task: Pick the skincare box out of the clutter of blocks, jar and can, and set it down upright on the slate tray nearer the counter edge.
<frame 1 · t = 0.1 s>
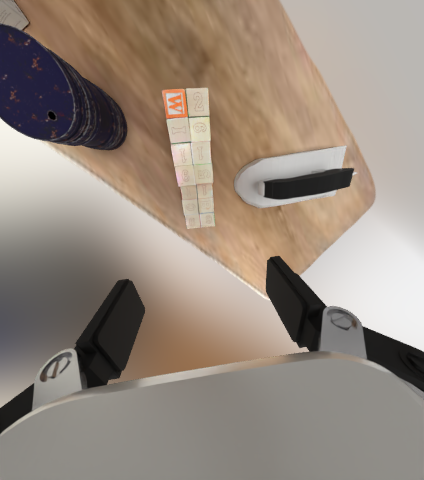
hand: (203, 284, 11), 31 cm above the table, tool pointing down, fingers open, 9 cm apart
storage jar: (101, 122, 30), on the table
stack of blocks: (195, 171, 36), on the table
iron: (280, 179, 38), on the table
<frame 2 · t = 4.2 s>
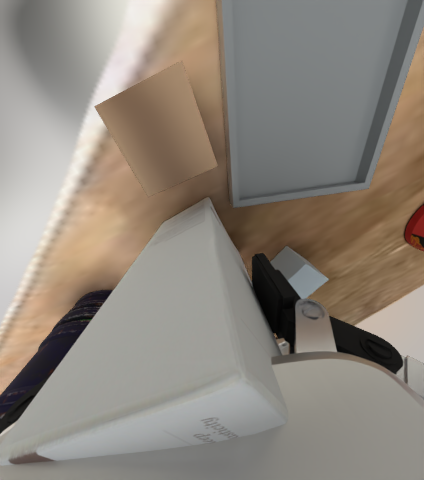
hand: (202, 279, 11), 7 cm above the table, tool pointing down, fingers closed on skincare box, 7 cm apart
slate tray: (301, 101, 12), on the table
skincare box: (201, 237, 17), on the table, touching gripper
blue-grey painted block: (274, 273, 21), on the table
storage jar: (114, 314, 22), on the table
walnut block: (174, 147, 13), on the table
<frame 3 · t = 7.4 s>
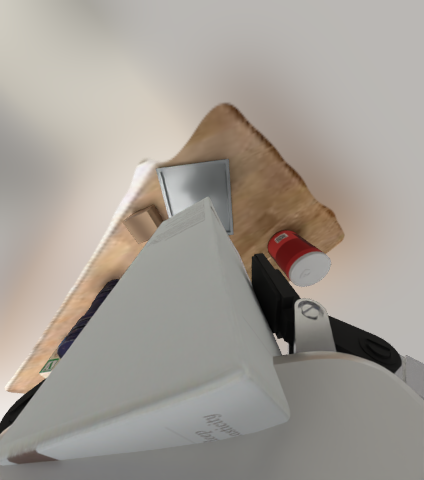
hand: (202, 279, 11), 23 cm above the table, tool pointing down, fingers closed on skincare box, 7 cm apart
slate tray: (199, 203, 32), on the table
skincare box: (200, 237, 17), point 16 cm above the table, touching gripper
canned food: (281, 243, 38), on the table
storage jar: (123, 292, 41), on the table
walnut block: (149, 219, 33), on the table
when the fingers open (9 cm above the table, at t = 10.4 s): skincare box drops 1 cm, resting on slate tray.
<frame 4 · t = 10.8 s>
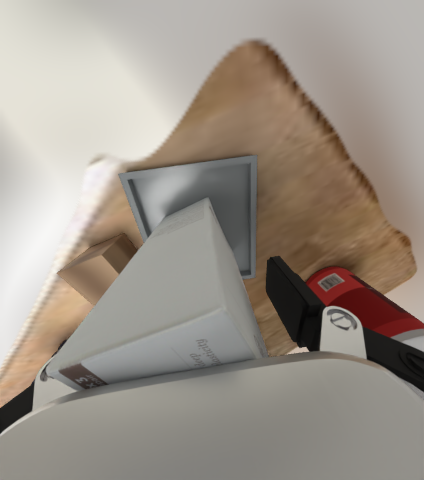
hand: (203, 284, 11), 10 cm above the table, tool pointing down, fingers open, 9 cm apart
slate tray: (200, 230, 19), on the table
skincare box: (198, 234, 19), point 1 cm above the table, touching slate tray
canned food: (323, 283, 26), on the table
walnut block: (119, 255, 20), on the table
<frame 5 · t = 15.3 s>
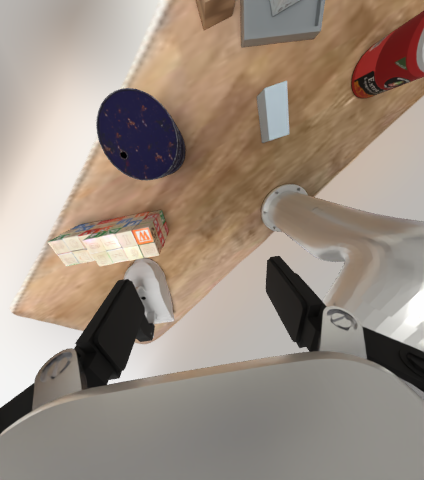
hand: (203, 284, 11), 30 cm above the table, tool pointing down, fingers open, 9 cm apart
canned food: (369, 73, 30), on the table
blue-grey painted block: (268, 118, 32), on the table
storage jar: (162, 149, 33), on the table
stack of blocks: (126, 227, 40), on the table
iron: (151, 288, 50), on the table
walnut block: (212, 0, 24), on the table
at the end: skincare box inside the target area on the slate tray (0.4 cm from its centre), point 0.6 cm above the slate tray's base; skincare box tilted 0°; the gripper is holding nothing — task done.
